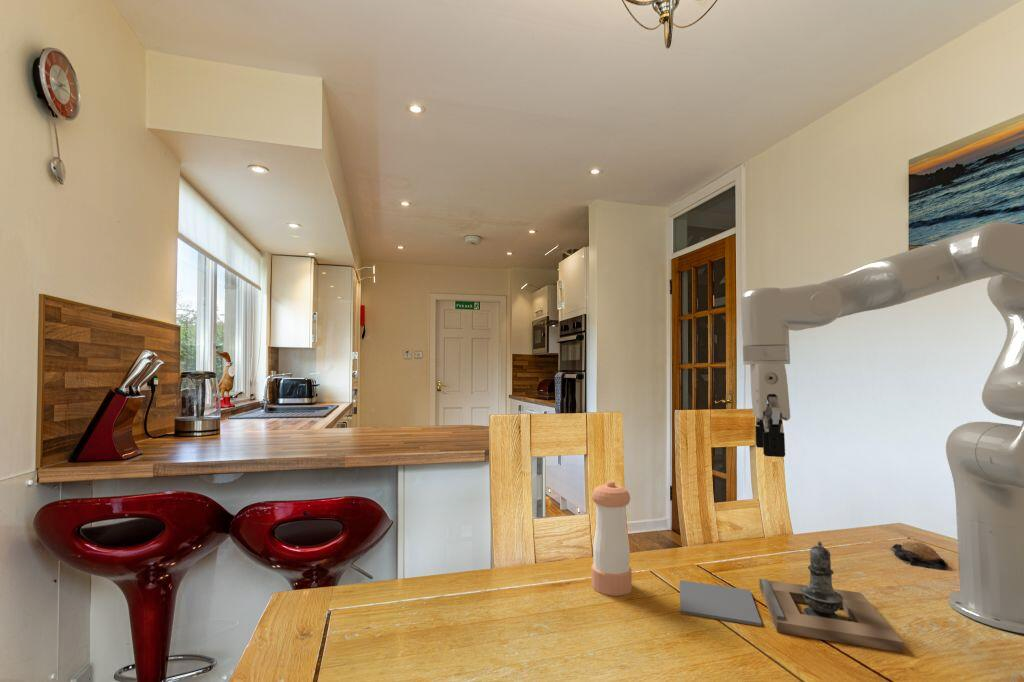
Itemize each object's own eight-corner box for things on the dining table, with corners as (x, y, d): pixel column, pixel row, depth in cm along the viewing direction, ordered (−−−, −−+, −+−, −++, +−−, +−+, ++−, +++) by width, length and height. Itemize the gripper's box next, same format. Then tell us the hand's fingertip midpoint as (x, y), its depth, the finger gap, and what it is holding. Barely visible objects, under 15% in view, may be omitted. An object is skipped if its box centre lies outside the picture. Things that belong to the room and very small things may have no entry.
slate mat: (749, 592, 86) (749, 589, 86) (761, 626, 74) (761, 623, 74) (679, 582, 90) (679, 580, 90) (680, 613, 78) (680, 610, 78)
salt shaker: (830, 608, 80) (828, 535, 81) (852, 626, 75) (849, 548, 75) (794, 606, 81) (792, 534, 82) (812, 624, 75) (810, 546, 76)
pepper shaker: (639, 591, 86) (638, 484, 87) (605, 598, 83) (604, 487, 84) (616, 575, 92) (616, 476, 94) (584, 581, 90) (584, 478, 91)
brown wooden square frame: (861, 601, 83) (861, 589, 83) (903, 652, 68) (902, 638, 68) (759, 587, 88) (759, 576, 88) (777, 632, 73) (776, 618, 73)
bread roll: (886, 550, 109) (885, 533, 109) (932, 556, 105) (932, 539, 106) (903, 567, 99) (902, 549, 99) (955, 574, 95) (954, 555, 96)
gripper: (800, 354, 77) (804, 461, 76) (780, 357, 93) (784, 445, 92) (748, 355, 79) (752, 458, 78) (738, 357, 95) (741, 443, 94)
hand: (769, 451), depth 85 cm, fingers open, 9 cm apart
